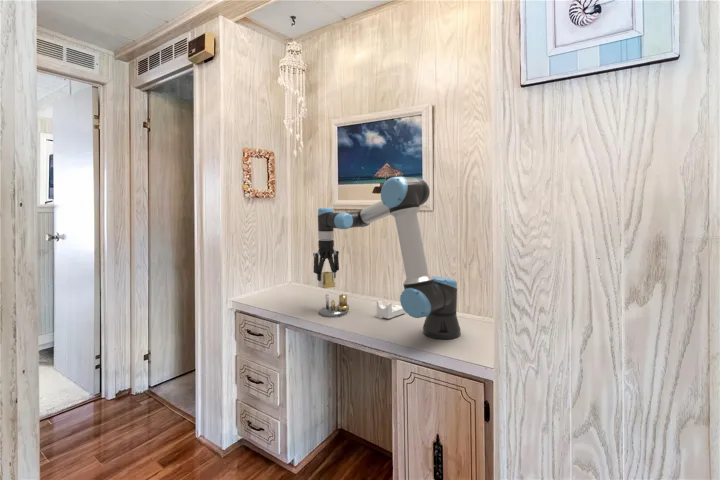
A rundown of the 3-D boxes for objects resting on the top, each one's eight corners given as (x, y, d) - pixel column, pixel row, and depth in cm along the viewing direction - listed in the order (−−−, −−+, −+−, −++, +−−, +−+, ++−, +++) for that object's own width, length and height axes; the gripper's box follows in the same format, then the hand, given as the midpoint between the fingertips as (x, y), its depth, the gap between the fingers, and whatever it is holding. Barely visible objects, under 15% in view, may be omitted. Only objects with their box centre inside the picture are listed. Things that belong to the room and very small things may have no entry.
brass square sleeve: (335, 286, 183) (335, 272, 182) (324, 288, 179) (324, 274, 178) (328, 284, 187) (328, 270, 186) (318, 286, 184) (318, 272, 183)
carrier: (352, 313, 180) (352, 294, 179) (329, 319, 171) (328, 299, 170) (337, 307, 190) (337, 289, 189) (314, 312, 182) (314, 294, 181)
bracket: (388, 320, 169) (388, 304, 168) (376, 317, 174) (376, 301, 173) (405, 314, 178) (406, 299, 177) (394, 311, 183) (394, 296, 182)
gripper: (337, 237, 189) (338, 281, 192) (305, 240, 177) (306, 287, 180) (346, 238, 183) (346, 284, 186) (313, 241, 172) (313, 290, 174)
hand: (326, 286), depth 183 cm, fingers closed on brass square sleeve, 6 cm apart
